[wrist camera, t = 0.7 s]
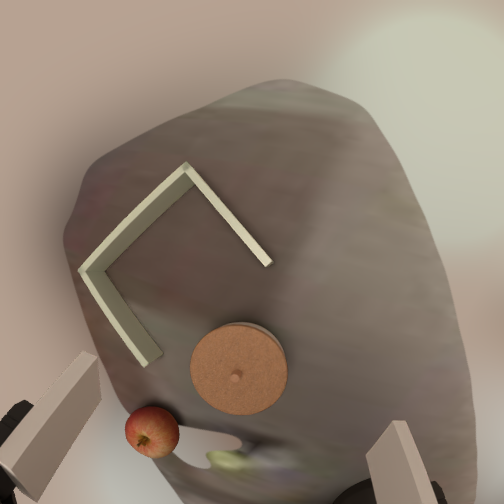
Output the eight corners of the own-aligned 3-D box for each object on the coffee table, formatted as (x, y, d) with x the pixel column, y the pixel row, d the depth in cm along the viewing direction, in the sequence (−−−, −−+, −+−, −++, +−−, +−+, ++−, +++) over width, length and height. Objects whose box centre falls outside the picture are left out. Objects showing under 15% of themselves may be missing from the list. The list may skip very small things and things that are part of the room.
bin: (274, 262, 38) (272, 260, 33) (159, 357, 39) (143, 367, 34) (197, 173, 40) (186, 161, 35) (97, 270, 41) (77, 270, 36)
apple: (146, 440, 39) (124, 465, 31) (133, 398, 39) (107, 419, 31) (191, 443, 38) (174, 471, 30) (179, 399, 39) (158, 423, 31)
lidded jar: (192, 356, 39) (166, 379, 29) (240, 297, 38) (225, 306, 29) (253, 404, 37) (243, 438, 28) (304, 348, 37) (309, 372, 28)
